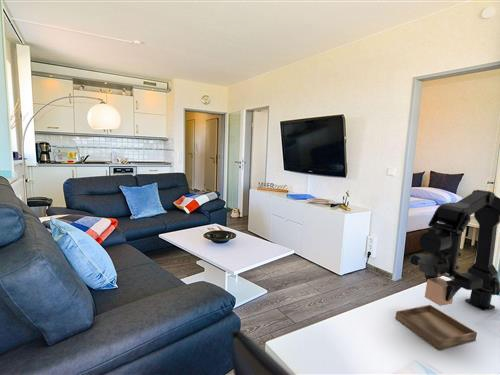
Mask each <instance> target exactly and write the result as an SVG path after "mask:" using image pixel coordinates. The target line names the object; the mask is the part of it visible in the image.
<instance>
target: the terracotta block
mask: <svg viewBox="0 0 500 375" xmlns="http://www.w3.org/2000/svg"><path fill="white" fill-rule="evenodd" d="M446 281H447V280H446V279H444V278H442V277H439V276H437V278H431V279H427V281H426V286H425V292H424V298H425V299H427V300H429V301H431V302H432V303H433V304H436V305H437V306H438V307H441V306H446V305H447V306H449V305H451V304H453V300H454V296H453V297H452V298H451V299H450V301H446V292H447V287H448V285H447V283H446Z"/></svg>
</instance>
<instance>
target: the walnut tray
mask: <svg viewBox="0 0 500 375" xmlns="http://www.w3.org/2000/svg"><path fill="white" fill-rule="evenodd" d="M395 320H397V321H398V322H400V323H401V324H402V325H404V326H405V327H406V328H408V329H409V330H410V331H412V332H413V333H414V334H416V335H417V336H418V337H420V338H421V339H422V340H424V341H426V343H428V344H430V345H431V346H432V347H434V349H436V350H438V351H442V350H446V349H449V348H453V347H456V346H461V345H463V344H467V343H471V342H475V341H476V340H477V335H478V332H477V331H475V330H473V329H472V328H470V327H468V326H467V325H465V324H464V323H461V321H459V320H456V319H455V318H453V317H452V316H450V315H449V314H446V313H445V312H443V311H442V310H440V309H438V308H436V307H435V306H433V305H431V304H427V305H422V306H418V307H417V306H415V307H412V308H406V309H401V310H397V311H396V312H395Z"/></svg>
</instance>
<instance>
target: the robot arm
mask: <svg viewBox="0 0 500 375" xmlns="http://www.w3.org/2000/svg"><path fill="white" fill-rule="evenodd" d="M432 215H433V216H432V217H431V219H430V221H429V222H428V230H427V231H426V232H424V233H422V234H421V235H420V237H419V239H418V241H419V242H418V243H419V245H420V247H421V249H422V250H423V251H424V252H426V253H429V254H426V253H414V254H412V255H411V256H410V258H409V263H410V264H412V265H413V266H416V267H418V270H419V272H421V273H423V274H424V278H425V281H426V282H427V279H431V278H438V277H439V275H440V276H442V275H447V276H448V277H451V278H450V279H449V280H446V283H447V285H448V287H447V292H446V301H450V299H451V298H452V297H453V298H454V296H455V295H456V294H457V293H458V291H460V290H461V289H464V290H467V291H471V292H470V296H469V298H465V300H464V301H465V302H467V303H469V304H470V305H472V306H474V307H476V308H478V309H480V310H482V311H487V310H492V309H495V308H496V306H495V305H493V304H492V303H491V302H492V296H500V280H499V278H498V277H499V276H498V274H499V273H498V270H497V269H496V267H495V266H494V264H493V263H494V256H495V248H496V241H497V240H496V239H497V231H498V225H499V224H500V197H498V196H497V195H496V194H495V193H494V192H492V191H489V190H483V189H475V190H472V192H471V193H470V194H469V195H466V196H465V197H463V198H462V199H460V200H458V201H455V202H446V203H441V204H440V205H439V206H438V207H437V208H436V210H435V211H434V213H433V214H432ZM471 215H473V216H474V219H475V221H476V222H477V223H478V233H477V235H478V236H477V242H476V243H477V244H476V254H475V262H474V263H473V264H472V265H471V266H470V267H469V268H468V269H467V271H466V272H461V273H460V272H458V271H456V270H459V268H460V266H459V265H457V261H458V257H462V252H460V251H459V250H460V246H461V238H462V234H463V233H464V232H465V229H466V228H467V226H468V225H469V223H470V222H471Z"/></svg>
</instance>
